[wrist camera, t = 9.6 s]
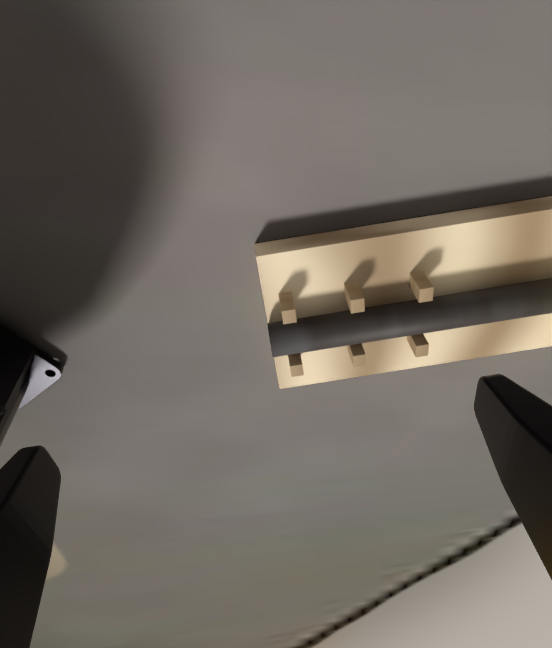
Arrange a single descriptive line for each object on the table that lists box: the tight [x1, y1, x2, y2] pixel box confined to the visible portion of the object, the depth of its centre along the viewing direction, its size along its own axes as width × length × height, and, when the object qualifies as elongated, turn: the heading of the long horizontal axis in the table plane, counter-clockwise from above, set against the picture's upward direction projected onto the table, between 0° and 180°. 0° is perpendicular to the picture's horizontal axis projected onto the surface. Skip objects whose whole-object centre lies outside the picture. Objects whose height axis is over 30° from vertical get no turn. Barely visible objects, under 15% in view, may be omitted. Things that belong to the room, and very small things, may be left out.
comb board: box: [255, 196, 552, 389], centre depth 22 cm, size 22×8×4 cm, turn 98°
